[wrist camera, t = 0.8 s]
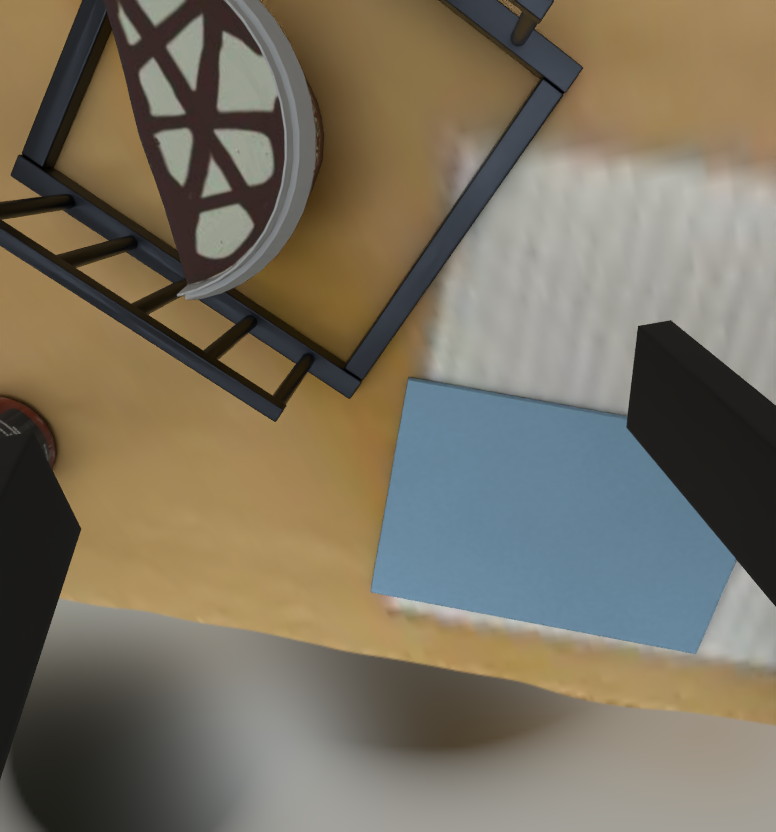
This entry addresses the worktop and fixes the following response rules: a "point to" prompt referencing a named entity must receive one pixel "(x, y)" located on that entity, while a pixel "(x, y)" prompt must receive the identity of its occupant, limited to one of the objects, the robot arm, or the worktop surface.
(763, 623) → the worktop surface
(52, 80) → the dish rack
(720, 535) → the robot arm
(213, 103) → the food container
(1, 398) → the supplement bottle
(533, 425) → the drying mat
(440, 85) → the worktop surface
